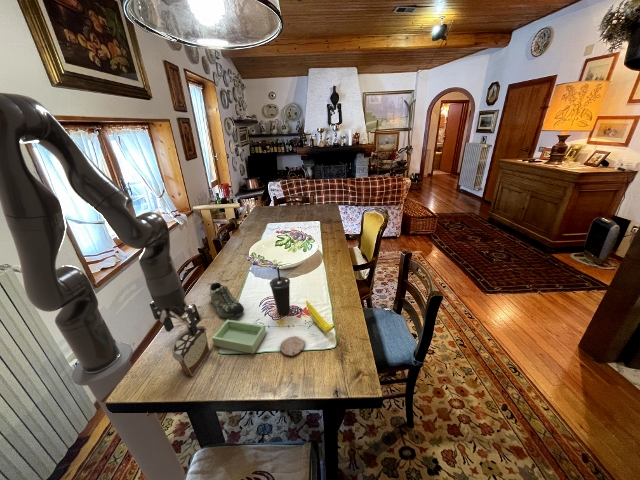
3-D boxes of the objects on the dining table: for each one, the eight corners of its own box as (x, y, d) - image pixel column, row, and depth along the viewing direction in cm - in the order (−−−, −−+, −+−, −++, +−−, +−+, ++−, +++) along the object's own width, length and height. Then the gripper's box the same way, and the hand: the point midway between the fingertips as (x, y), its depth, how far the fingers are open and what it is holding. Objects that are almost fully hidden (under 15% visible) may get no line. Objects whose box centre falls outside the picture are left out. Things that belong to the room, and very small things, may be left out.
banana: (310, 308, 101) (309, 295, 98) (338, 339, 86) (337, 324, 84) (303, 311, 100) (302, 298, 97) (331, 342, 85) (330, 328, 82)
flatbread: (286, 360, 79) (286, 358, 79) (276, 344, 85) (276, 342, 85) (309, 348, 83) (308, 346, 82) (298, 334, 89) (298, 332, 88)
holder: (214, 345, 86) (211, 337, 84) (229, 326, 94) (227, 319, 92) (253, 353, 82) (252, 345, 81) (266, 333, 90) (265, 325, 89)
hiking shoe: (229, 325, 94) (224, 305, 90) (204, 302, 108) (199, 283, 104) (249, 314, 100) (245, 294, 96) (222, 293, 113) (218, 275, 110)
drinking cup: (276, 320, 96) (269, 275, 88) (272, 308, 103) (265, 265, 94) (295, 314, 99) (290, 270, 90) (290, 302, 105) (285, 260, 97)
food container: (195, 346, 86) (187, 323, 82) (212, 347, 85) (205, 325, 81) (170, 378, 75) (160, 354, 71) (189, 381, 74) (179, 356, 70)
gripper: (132, 291, 67) (152, 337, 73) (176, 298, 63) (193, 346, 70) (156, 276, 73) (172, 319, 80) (197, 281, 70) (210, 326, 76)
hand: (182, 332), depth 75 cm, fingers open, 8 cm apart
